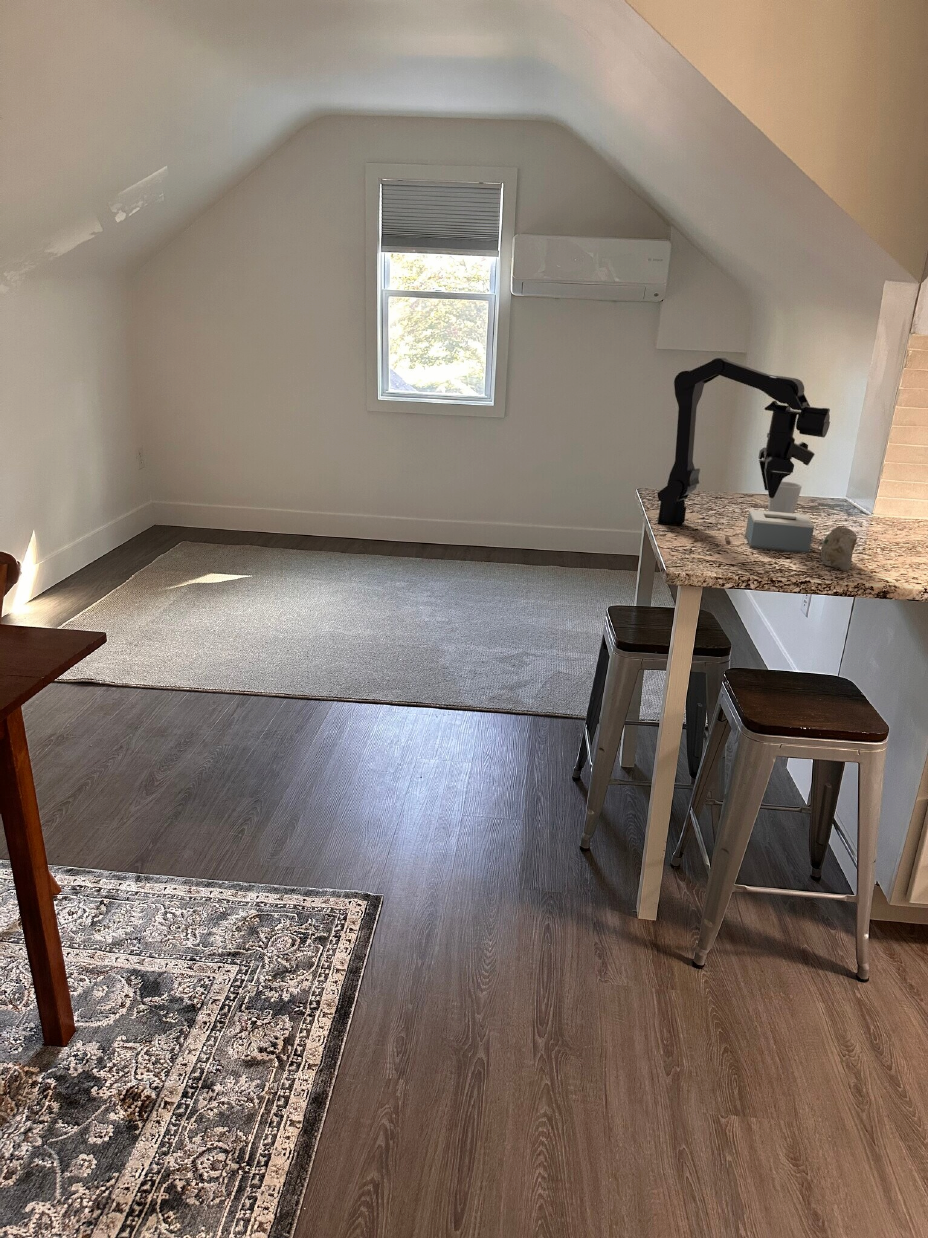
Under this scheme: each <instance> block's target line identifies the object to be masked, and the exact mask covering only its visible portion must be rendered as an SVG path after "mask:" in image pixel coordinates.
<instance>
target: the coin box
mask: <svg viewBox="0 0 928 1238" xmlns="http://www.w3.org/2000/svg"><path fill="white" fill-rule="evenodd" d="M776 518H782V519H776ZM814 530H815V524H814V523H813V522H812V520H811V518H809V516H808V515H807V514H804V513H803V514H802V513H794V514H793V513H783V512H772V511H768V510H759V509H749V511H748V516H747V521H746V527H745V534H744V537H745V539H746V542H747V544H748V545H749V548H750V549H751V548H752V549H761V550H762V549H763V550H771V551H779V552H781V551H782V552H790V553H791V552H793V553H800V552H805V553H804V554H810V551H811V545H812V542H813V541H812V540H813V534H814Z"/></svg>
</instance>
